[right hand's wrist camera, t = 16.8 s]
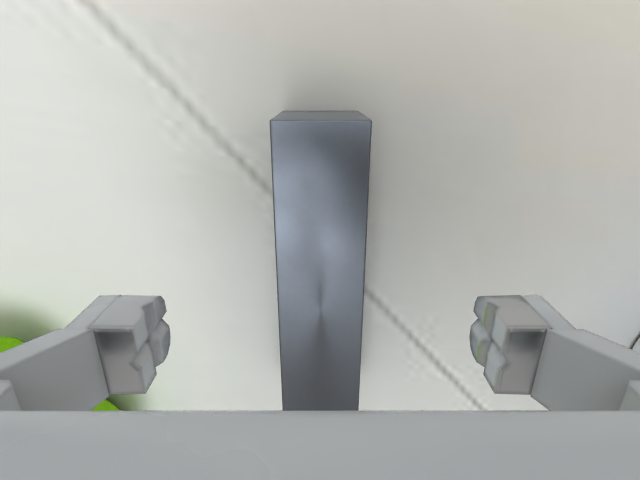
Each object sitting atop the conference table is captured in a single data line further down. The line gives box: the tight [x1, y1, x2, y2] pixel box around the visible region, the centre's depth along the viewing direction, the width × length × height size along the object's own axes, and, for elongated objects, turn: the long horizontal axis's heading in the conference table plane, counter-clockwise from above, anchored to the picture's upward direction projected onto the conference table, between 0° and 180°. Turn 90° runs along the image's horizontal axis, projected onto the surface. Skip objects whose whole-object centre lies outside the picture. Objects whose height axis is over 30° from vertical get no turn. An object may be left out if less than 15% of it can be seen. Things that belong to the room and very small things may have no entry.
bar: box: [270, 111, 372, 411], centre depth 31 cm, size 26×6×9 cm, turn 0°
